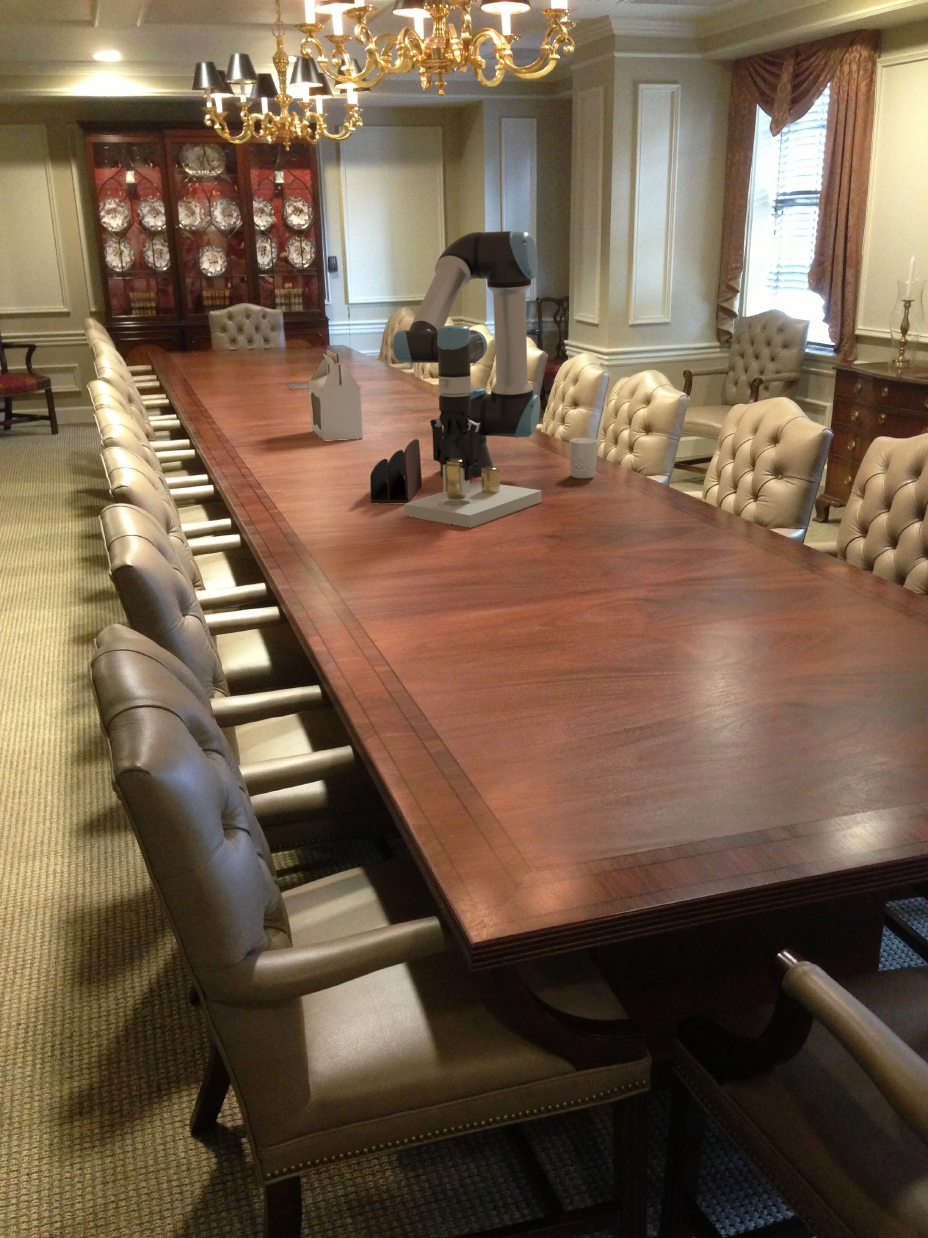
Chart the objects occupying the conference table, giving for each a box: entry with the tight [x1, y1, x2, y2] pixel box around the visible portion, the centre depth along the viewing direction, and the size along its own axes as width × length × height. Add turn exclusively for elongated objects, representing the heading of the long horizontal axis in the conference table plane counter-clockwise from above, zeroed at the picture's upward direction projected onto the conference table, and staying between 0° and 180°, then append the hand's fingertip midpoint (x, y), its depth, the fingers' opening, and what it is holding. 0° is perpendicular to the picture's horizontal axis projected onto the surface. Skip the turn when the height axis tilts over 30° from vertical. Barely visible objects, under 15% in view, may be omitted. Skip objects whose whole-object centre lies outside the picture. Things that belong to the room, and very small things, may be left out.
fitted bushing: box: [480, 465, 501, 494], centre depth 267 cm, size 5×5×9 cm
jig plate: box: [403, 480, 542, 529], centre depth 262 cm, size 20×30×3 cm, turn 143°
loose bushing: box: [446, 459, 466, 500], centre depth 254 cm, size 5×5×9 cm
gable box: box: [308, 349, 364, 441], centre depth 358 cm, size 22×13×28 cm, turn 18°
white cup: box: [569, 437, 599, 479], centre depth 294 cm, size 8×8×10 cm
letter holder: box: [369, 438, 423, 504], centre depth 276 cm, size 10×20×14 cm, turn 172°
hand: (456, 491), depth 256 cm, fingers closed on loose bushing, 4 cm apart
